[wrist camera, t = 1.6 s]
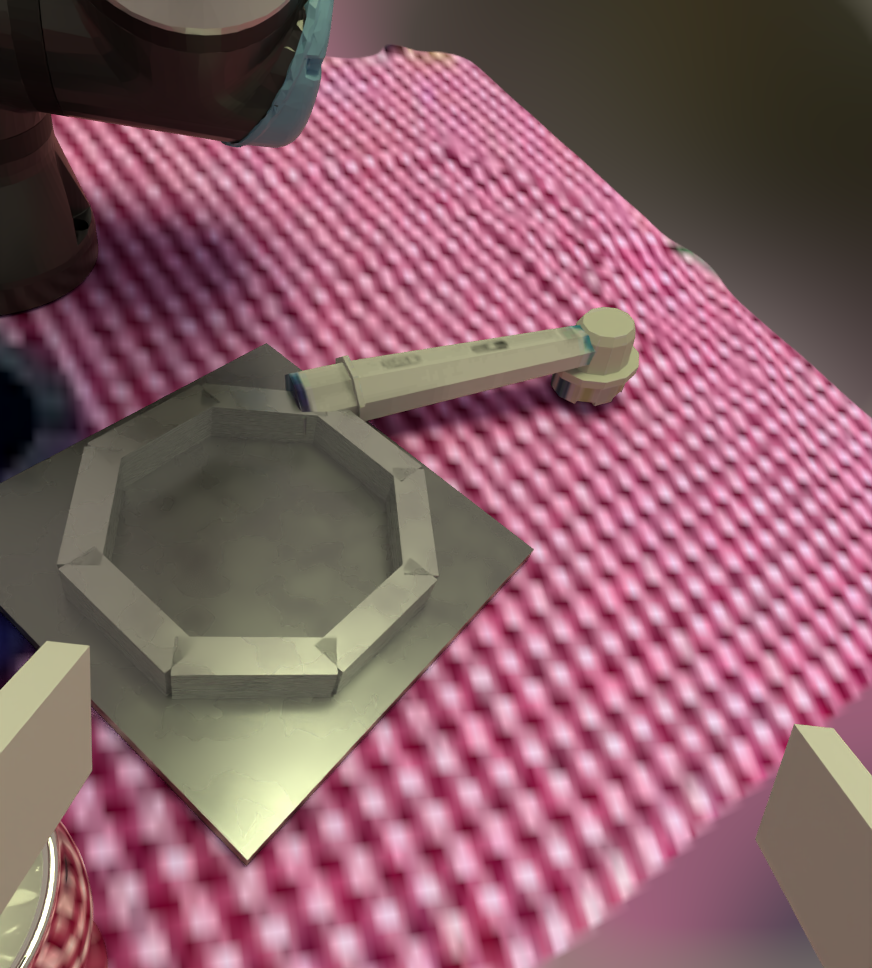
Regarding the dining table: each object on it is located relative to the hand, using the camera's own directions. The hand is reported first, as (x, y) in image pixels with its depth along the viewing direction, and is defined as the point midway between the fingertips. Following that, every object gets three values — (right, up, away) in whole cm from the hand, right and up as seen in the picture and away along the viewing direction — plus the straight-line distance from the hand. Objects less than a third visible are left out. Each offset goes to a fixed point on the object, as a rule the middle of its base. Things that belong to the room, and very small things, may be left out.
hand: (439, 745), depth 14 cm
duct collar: (-10, +1, +26) cm, 28 cm away
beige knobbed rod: (+2, +10, +37) cm, 38 cm away
